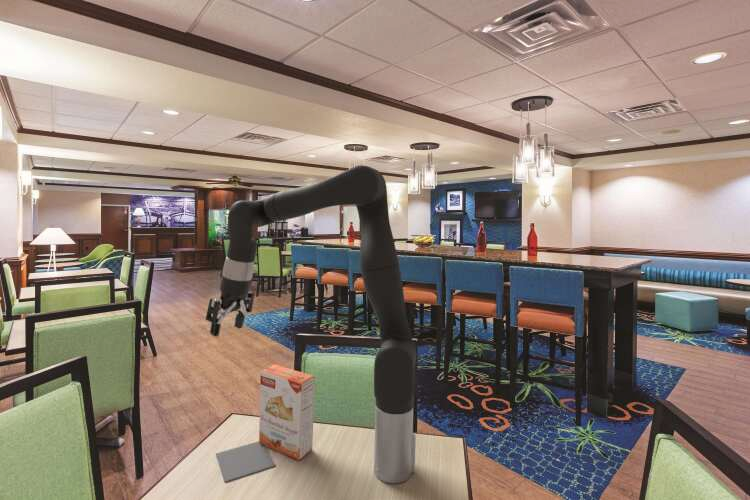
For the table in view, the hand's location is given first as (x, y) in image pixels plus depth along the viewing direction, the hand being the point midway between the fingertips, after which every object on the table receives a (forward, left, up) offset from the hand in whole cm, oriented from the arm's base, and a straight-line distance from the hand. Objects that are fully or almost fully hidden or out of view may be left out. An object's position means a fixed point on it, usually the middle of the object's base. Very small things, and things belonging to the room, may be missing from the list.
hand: (226, 331), depth 105 cm
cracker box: (-12, +12, -31) cm, 35 cm away
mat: (-2, +12, -31) cm, 33 cm away
